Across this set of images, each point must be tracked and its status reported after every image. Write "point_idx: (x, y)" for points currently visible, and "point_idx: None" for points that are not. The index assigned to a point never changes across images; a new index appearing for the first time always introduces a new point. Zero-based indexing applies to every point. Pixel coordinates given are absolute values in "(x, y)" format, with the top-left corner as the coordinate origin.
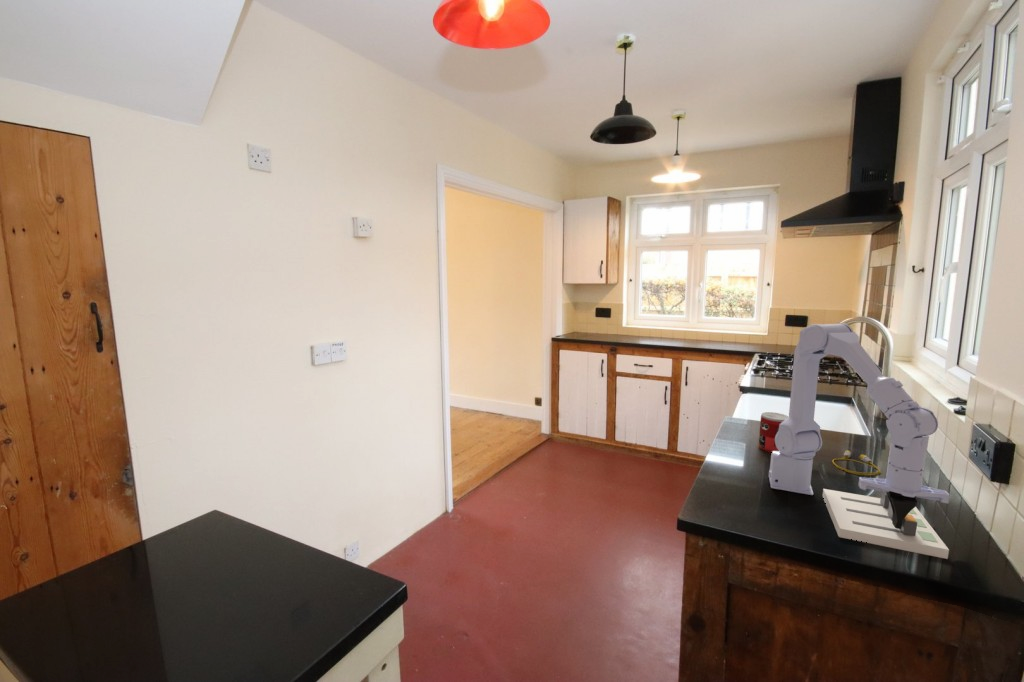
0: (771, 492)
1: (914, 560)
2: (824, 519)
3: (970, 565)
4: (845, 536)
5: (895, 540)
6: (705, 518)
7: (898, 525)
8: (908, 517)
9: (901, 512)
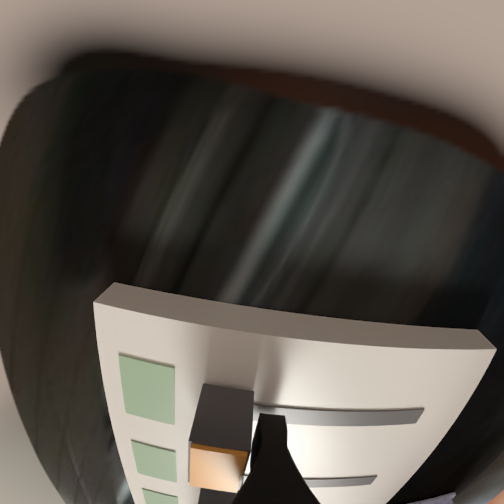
0: (467, 477)
1: (266, 228)
2: None
3: (56, 256)
4: (467, 332)
5: (314, 337)
6: None
7: (276, 425)
8: (218, 471)
9: (281, 491)
